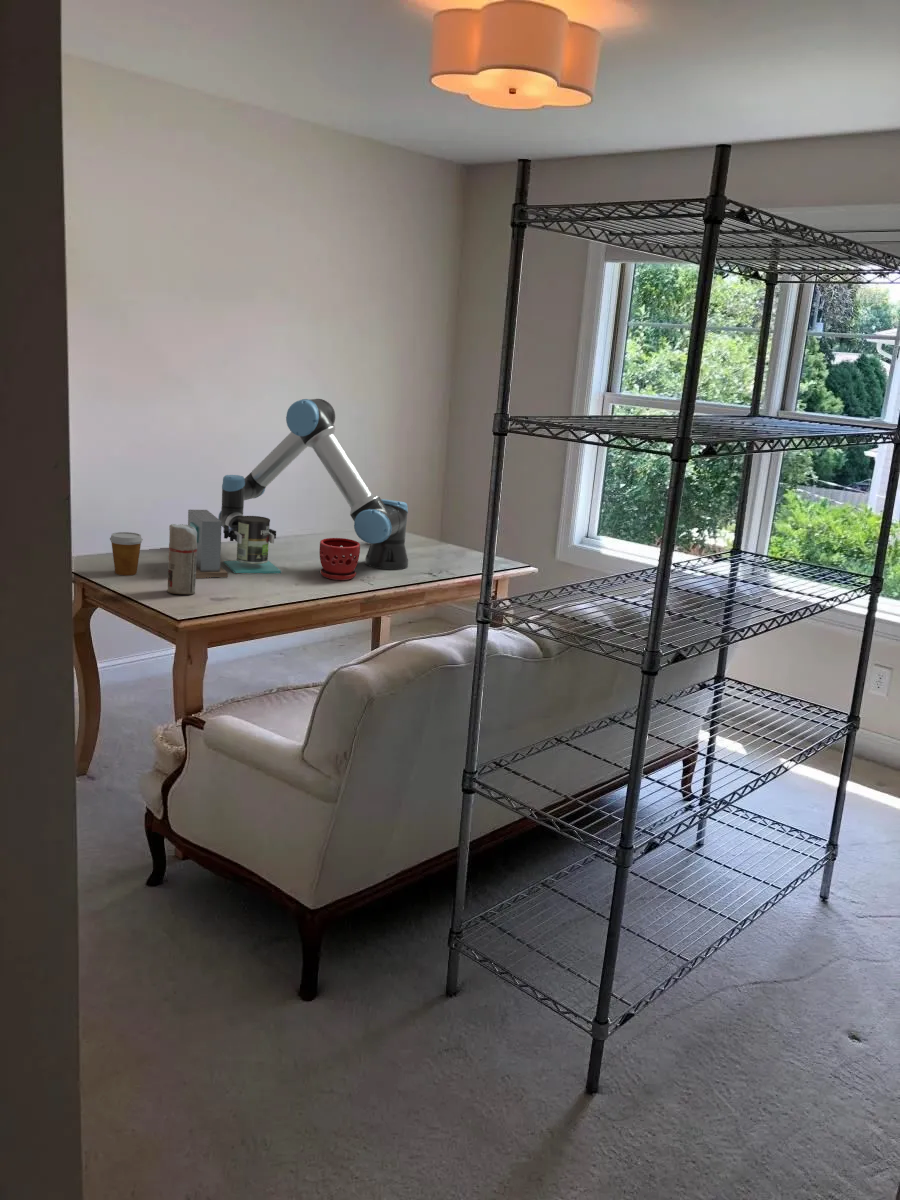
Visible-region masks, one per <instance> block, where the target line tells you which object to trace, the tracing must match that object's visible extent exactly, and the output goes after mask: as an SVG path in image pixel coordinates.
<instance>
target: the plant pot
mask: <svg viewBox="0 0 900 1200" xmlns="http://www.w3.org/2000/svg"><path fill="white" fill-rule="evenodd" d="M360 553H361V543H360V542H359V541H356V540H353V539H349V538H344V537H328V538H323V539H321V540H320V542H319V562H320V564H321V569H320V574H321V575H322V577H324V578H325V579H326V578H327V579H328V580H333V581H334V580H335V581H347V580H352V579H353V578H355V576H356V575H357V572H356V571H355V569H356V567H357V565H358V563H359V558H360Z"/></svg>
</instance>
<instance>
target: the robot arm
mask: <svg viewBox="0 0 900 1200" xmlns="http://www.w3.org/2000/svg"><path fill="white" fill-rule="evenodd" d="M285 418H286V419H285V421H286V426H287V429H288V430H289V431H290V433H288V434H287V436H286V437H284V438H283V439H282V441H280V442H279V444H277V445H276V446H275V447H274V449H272V450H271V452H269V453H268V455H266V456H265V457H264V459H262V460H261V461H260V462H259V463H258V465H256V466H255V467H254V469H252V470H251V472H249V474H248V475H246V476H245V477H244V476H242V475H239V474H225V475H224V476H223V478H222V485H221V507H220V508H221V510H220V511H219V513H218V517H217V518H218V519H219V520H220V521H222V526H221V528H223V538H224V539H226V540H227V539H228V538H229V542H234V541H235V542H236V543H237V542H238V543H239V544H241V543H242V535H241V534H239V533H238V517H241V516H245V515H244V506H245V505H244V504H245V501H247V500H248V501H249V500H251V499H257V498H259V497H262V495H263V494H264V493H265V491H266V488H267V487H268V486H269V485H270V484H271V483H272V482H273V481H274V480H275V479H276V478H277V477H278V476H279V475H281V473H282V472H283V471H284V470H285V469H286V468H287V467H288V466H289V465H291V463H292V462H293V461H294V460H295V459H297V458H298V456H300V454H301V453H303V452H304V450H306V449H307V448H308V447H309V448H312V450H313V451H314V452H315V454H316V456H317V457H318V459H319V460H320V461H321V464H322V465H323V467H324V468H325V470H326V472H327V473H328V474H329V476H330V477H331V479H332V482H334V484H335V485H336V486H337V487H336V488H338V490H339V492H340V493H341V495H342V497H343V498H344V499H345V501H346V503H347V504H348V506H349V507H350V511H349V516H350V517H351V519H352V521H353V522H354V523H353V528H354V531H355V534H356V536H357V537H358V538H359V539H360V540H361V541H363V542H365V543H367V544H370V545H369V548H368V550H367V553H366V555H365V561H364V563H365V565H366V566H368V567H372V568H376V569H381V570H382V569H384V570H403V569H406V568H408V567H409V558H408V553H407V549H406V535H407V534H406V532H407V521H408V514H409V511H408V509H409V508H408V507H409V506H408V503H407V502H404V501H399V500H392V499H384V498H382V499H381V497H380V496H379V495H375V494H373V493H372V491H371V490H370V488H369V487H368V485H367V484H366V482H365V480H364V479H363V478H362V475H361V474H360V472H359V471H358V468H356V466H355V465H354V463H353V461H352V460H351V458H350V457H349V455H348V454H347V452H346V451H345V449H344V447H343V446H342V444H341V443H340V441H339V440H338V438H337V437H336V435H335V430H336V426H335V425H334V424H335V421H336V412H335V409H334V407H333V405H332V404H331V403H330V402H329V401H327V400H325V399H322V398H311V399H310V398H303V399H300V400H297V401H295V402H293V403H292V404H290V406H289V407H288V409H287V411H286V416H285ZM276 539H277V530H275V529H272V528H269V543H270V544H273V545H274V544H275V540H276Z"/></svg>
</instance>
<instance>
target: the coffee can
mask: <svg viewBox="0 0 900 1200" xmlns="http://www.w3.org/2000/svg"><path fill="white" fill-rule="evenodd" d="M270 526H271V519H270V518H268V517H266V516H260V515H259V516H257V515H244V516H241V517H238V533H239V534H241V535H242V543H241V544H239V543H238V542H237V541H236V543H237V544H236V545H237V546H236V560H235V561H239V562H242V563H247V564H263V563H267V562H268V561H269V543H270V542H269V529H270Z"/></svg>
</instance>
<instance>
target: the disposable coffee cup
mask: <svg viewBox="0 0 900 1200" xmlns="http://www.w3.org/2000/svg"><path fill="white" fill-rule="evenodd" d="M109 541H110V542H111V550H112V556H113V558H112V560H113V564H114V566H113V567H114V573H115V574H116V575H119V576H126V577H127V576H134V575H136V574H137V573H138V565H139V560H140V559H139V558H140V551H141V547H142V545H141V544H142V542H143V538H142V534H140V533H138V532H130V531H122V532H121V531H119V532H114V533H111V535H110V537H109Z"/></svg>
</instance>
